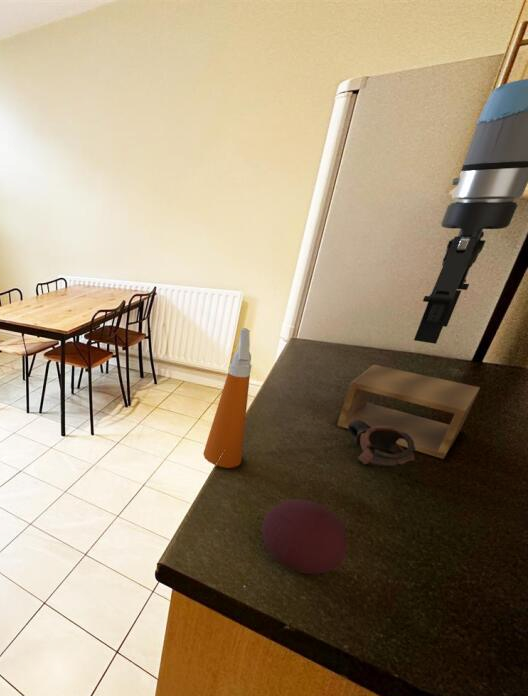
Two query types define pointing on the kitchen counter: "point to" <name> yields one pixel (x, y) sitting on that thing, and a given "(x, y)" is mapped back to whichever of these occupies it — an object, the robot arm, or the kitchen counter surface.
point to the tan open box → (415, 390)
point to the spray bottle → (231, 410)
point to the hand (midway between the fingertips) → (431, 333)
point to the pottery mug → (381, 443)
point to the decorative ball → (305, 536)
